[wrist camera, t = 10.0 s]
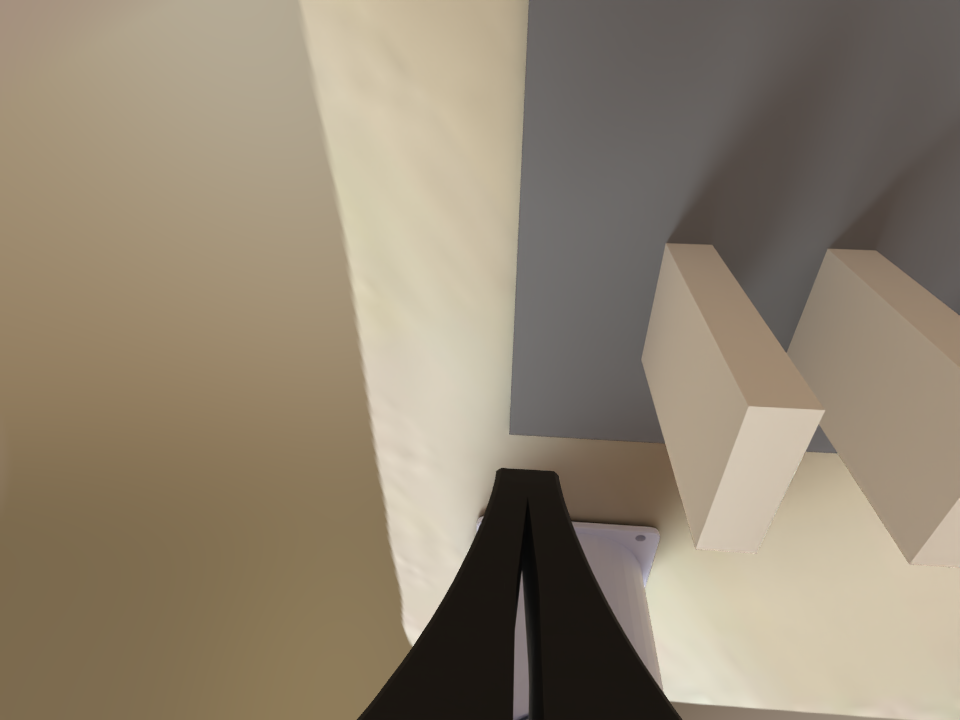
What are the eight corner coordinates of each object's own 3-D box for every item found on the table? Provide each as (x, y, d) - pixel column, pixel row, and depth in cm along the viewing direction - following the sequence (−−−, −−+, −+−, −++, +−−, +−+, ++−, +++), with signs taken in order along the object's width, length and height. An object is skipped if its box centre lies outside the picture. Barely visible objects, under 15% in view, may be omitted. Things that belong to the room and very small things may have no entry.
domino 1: (641, 359, 22) (695, 549, 15) (665, 243, 19) (748, 406, 12) (681, 361, 22) (756, 553, 14) (712, 244, 19) (825, 410, 12)
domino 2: (781, 366, 22) (909, 564, 14) (827, 248, 19) (1017, 420, 11) (822, 368, 21) (973, 568, 14) (876, 250, 19) (1099, 424, 11)
